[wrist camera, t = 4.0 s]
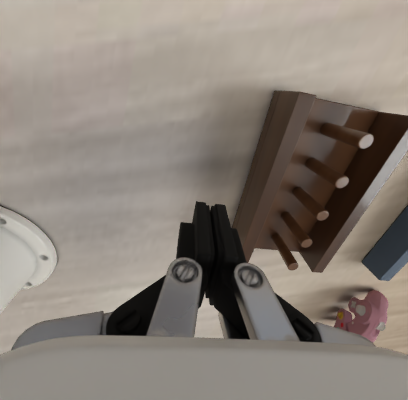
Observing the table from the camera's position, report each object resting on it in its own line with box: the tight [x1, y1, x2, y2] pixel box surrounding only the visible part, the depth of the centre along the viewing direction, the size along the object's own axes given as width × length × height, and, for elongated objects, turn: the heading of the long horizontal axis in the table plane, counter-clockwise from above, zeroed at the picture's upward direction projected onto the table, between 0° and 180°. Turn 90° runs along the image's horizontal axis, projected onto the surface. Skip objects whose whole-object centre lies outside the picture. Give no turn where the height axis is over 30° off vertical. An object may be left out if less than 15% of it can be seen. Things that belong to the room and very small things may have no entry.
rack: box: [232, 91, 408, 273], centre depth 18 cm, size 10×16×6 cm, turn 170°
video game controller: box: [334, 290, 388, 343], centre depth 31 cm, size 10×5×7 cm, turn 165°
